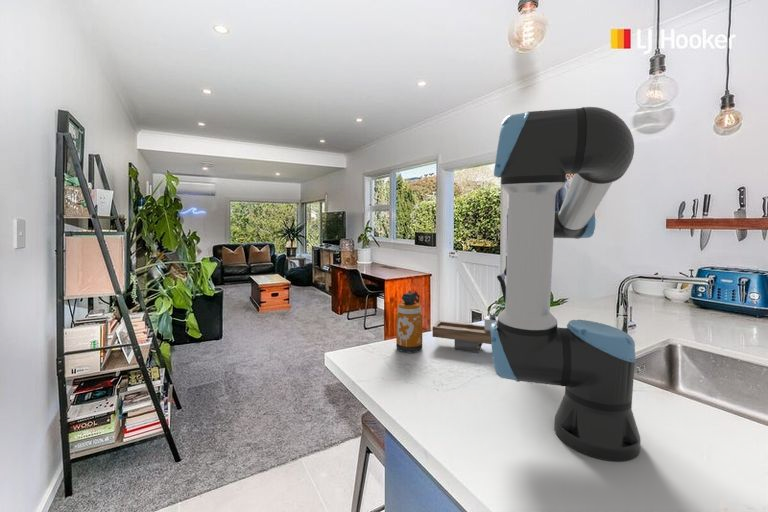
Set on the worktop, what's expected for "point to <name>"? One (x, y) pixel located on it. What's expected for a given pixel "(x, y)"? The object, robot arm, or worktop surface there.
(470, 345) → the beam
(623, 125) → the robot arm
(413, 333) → the canister
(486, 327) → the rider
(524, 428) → the worktop surface
